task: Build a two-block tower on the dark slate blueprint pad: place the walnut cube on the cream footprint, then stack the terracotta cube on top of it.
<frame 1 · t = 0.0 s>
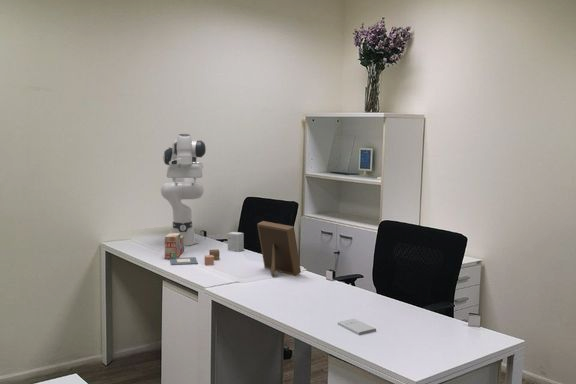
hand: (184, 185, 320), 39 cm above the table, tool pointing down, fingers open, 8 cm apart
walnut block: (214, 259, 308), on the table
terracotta block: (209, 264, 296), on the table
stack of blocks: (174, 255, 315), on the table, touching blueprint pad
small box: (235, 250, 332), on the table
photo frame: (275, 273, 281), on the table
external hard drive: (356, 329, 205), on the table
blueprint pad: (183, 261, 301), on the table
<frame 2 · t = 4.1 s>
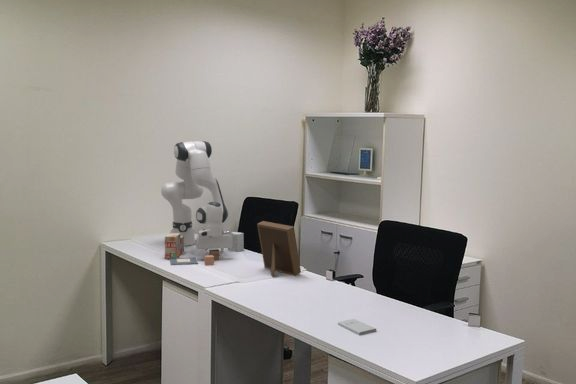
hand: (214, 256, 308), 2 cm above the table, tool pointing down, fingers closed on walnut block, 5 cm apart
walnut block: (214, 259, 308), on the table, touching gripper
everything else where it was.
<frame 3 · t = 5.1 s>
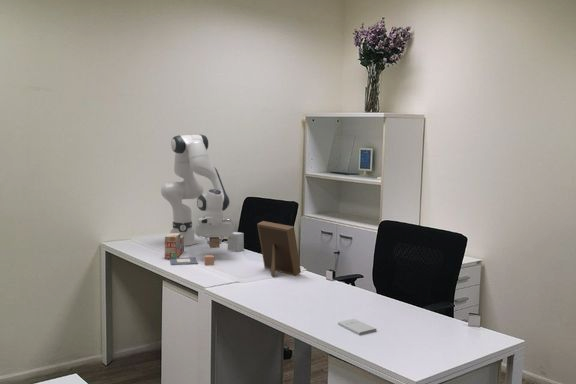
hand: (214, 243, 307), 9 cm above the table, tool pointing down, fingers closed on walnut block, 5 cm apart
walnut block: (214, 246, 308), point 7 cm above the table, touching gripper
everything else where it was.
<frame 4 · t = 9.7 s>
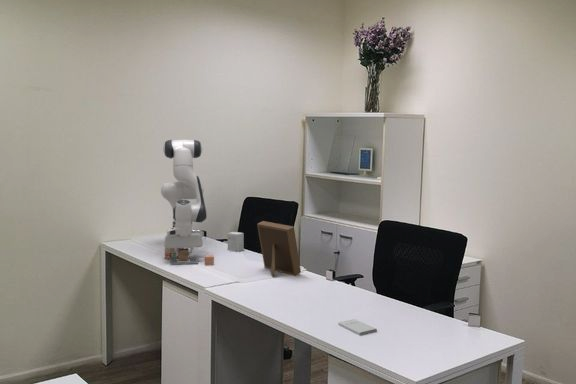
hand: (183, 255, 300), 3 cm above the table, tool pointing down, fingers closed on walnut block, 5 cm apart
walnut block: (183, 258, 301), point 2 cm above the table, touching gripper
everything else where it was.
when the fingers open (3 cm above the table, at t = 10.0 s): walnut block stays where it is, resting on blueprint pad.
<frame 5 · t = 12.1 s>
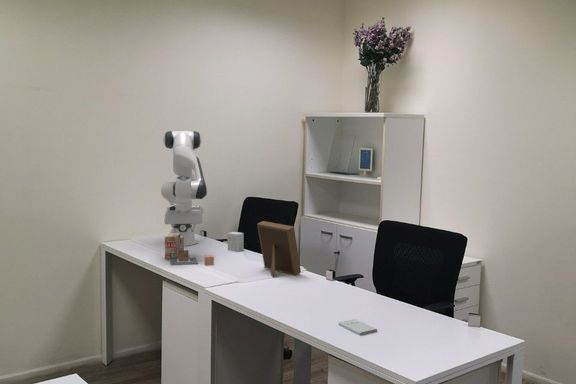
hand: (183, 232, 299), 16 cm above the table, tool pointing down, fingers open, 8 cm apart
walnut block: (183, 260, 301), point 1 cm above the table, touching blueprint pad
everything else where it was.
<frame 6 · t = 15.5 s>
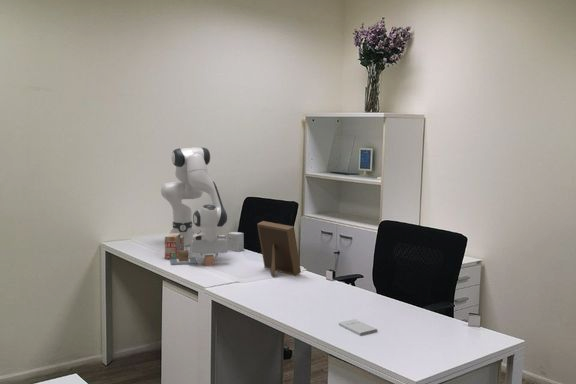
hand: (209, 261, 296), 2 cm above the table, tool pointing down, fingers closed on terracotta block, 4 cm apart
terracotta block: (209, 264, 296), on the table, touching gripper
everything else where it was.
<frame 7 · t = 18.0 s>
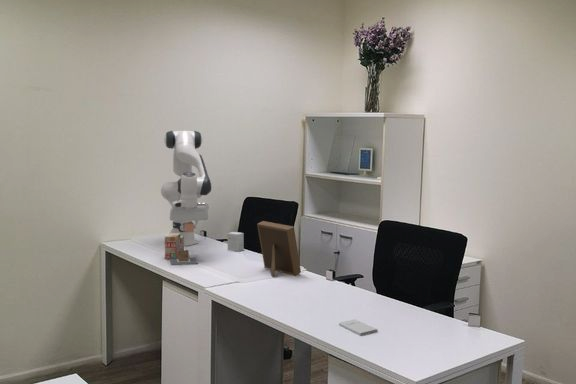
hand: (188, 228, 298), 18 cm above the table, tool pointing down, fingers closed on terracotta block, 4 cm apart
terracotta block: (189, 231, 298), point 17 cm above the table, touching gripper
everything else where it was.
when the fingers open (8 cm above the table, at t = 20.7 s): terracotta block stays where it is, resting on walnut block.
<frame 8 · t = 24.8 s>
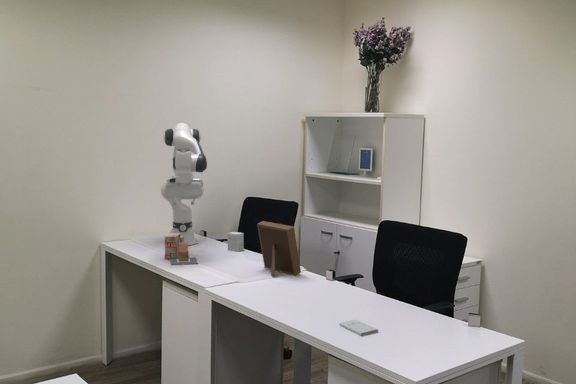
hand: (183, 204, 297), 31 cm above the table, tool pointing down, fingers open, 8 cm apart
walnut block: (183, 260, 301), point 1 cm above the table, touching blueprint pad, terracotta block
terracotta block: (183, 251, 300), point 6 cm above the table, touching walnut block
at the end: walnut block 0.0 cm off-centre on the blueprint pad, point 0.7 cm above the blueprint pad's base; terracotta block 0.0 cm off-centre on the blueprint pad, point 5.7 cm above the blueprint pad's base; terracotta block tilted 0° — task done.
